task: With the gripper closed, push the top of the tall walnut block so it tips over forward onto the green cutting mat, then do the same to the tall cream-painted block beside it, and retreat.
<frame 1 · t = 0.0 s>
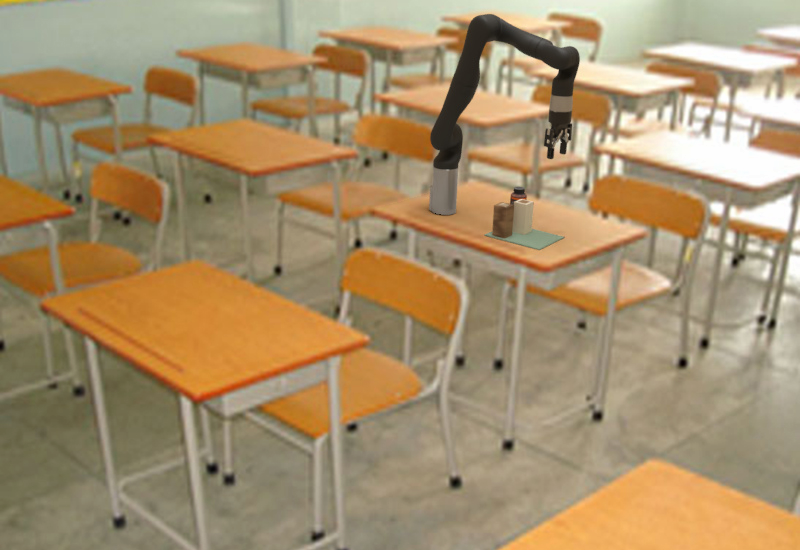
hand: (556, 156, 330), 29 cm above the table, fingers open, 8 cm apart
supplement bottle: (517, 217, 362), on the table
cutting mat: (524, 236, 342), on the table
cream block: (521, 231, 345), resting on cutting mat
walnut block: (502, 235, 341), resting on cutting mat
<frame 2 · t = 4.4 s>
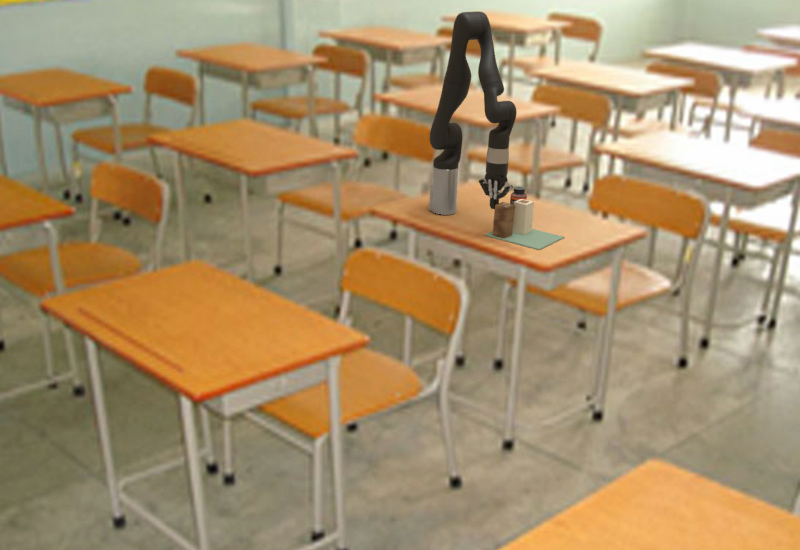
hand: (493, 208, 340), 9 cm above the table, fingers closed
walnut block: (502, 235, 341), resting on cutting mat, touching gripper
everything else where it was.
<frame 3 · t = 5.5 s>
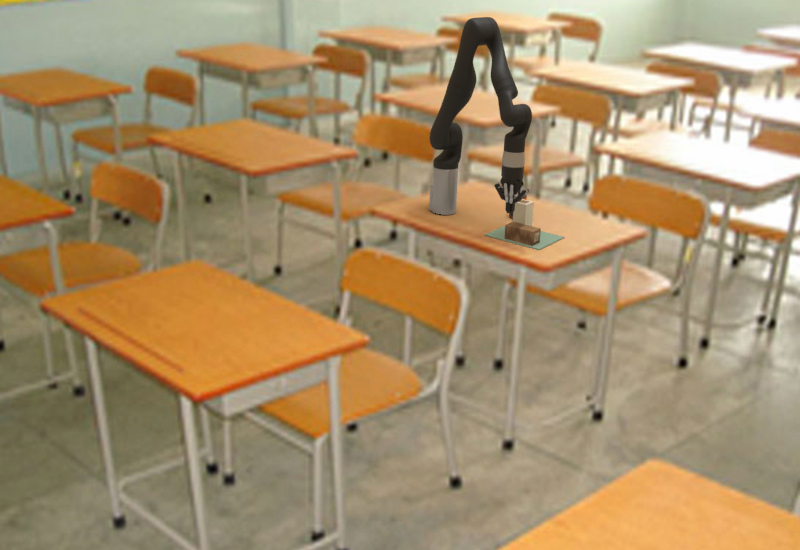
hand: (509, 212, 336), 9 cm above the table, fingers closed
walnut block: (508, 230, 339), point 3 cm above the table, tilted 90°, touching cutting mat
everything else where it was.
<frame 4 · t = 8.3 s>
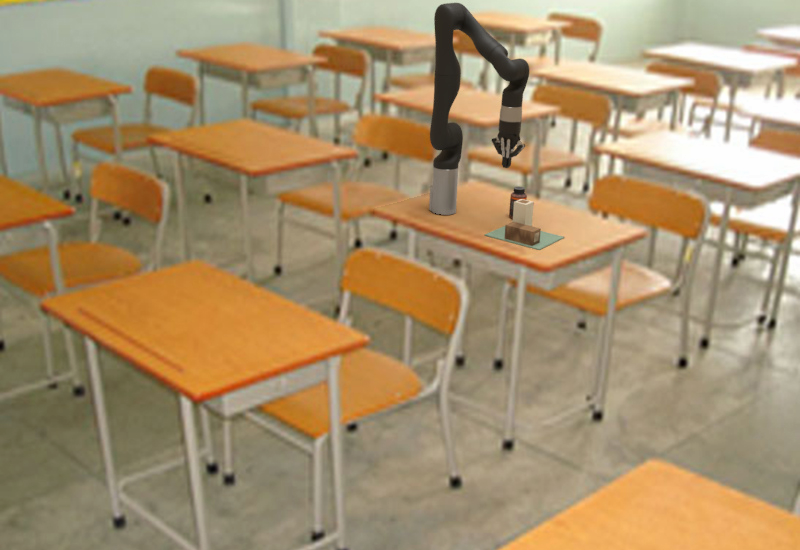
hand: (506, 167, 341), 22 cm above the table, fingers closed
nothing on the table moved.
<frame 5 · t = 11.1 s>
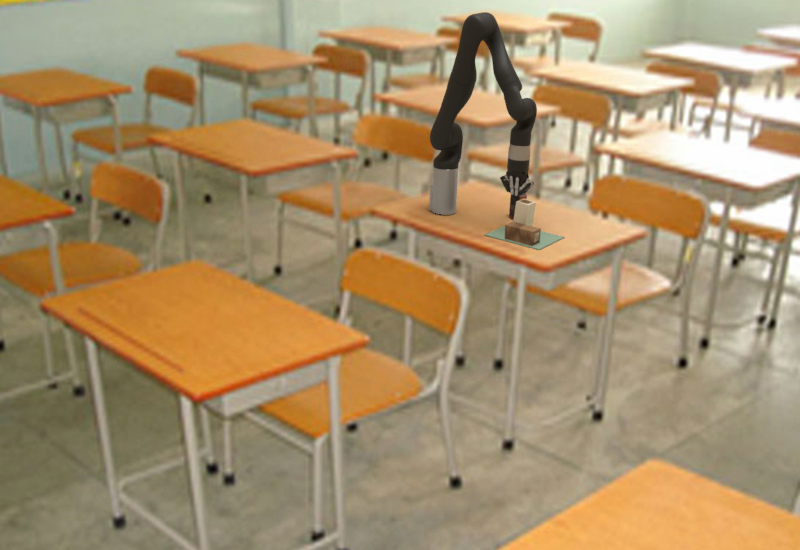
hand: (514, 204, 344), 10 cm above the table, fingers closed
cream block: (521, 231, 345), point 1 cm above the table, touching cutting mat, gripper
everything else where it was.
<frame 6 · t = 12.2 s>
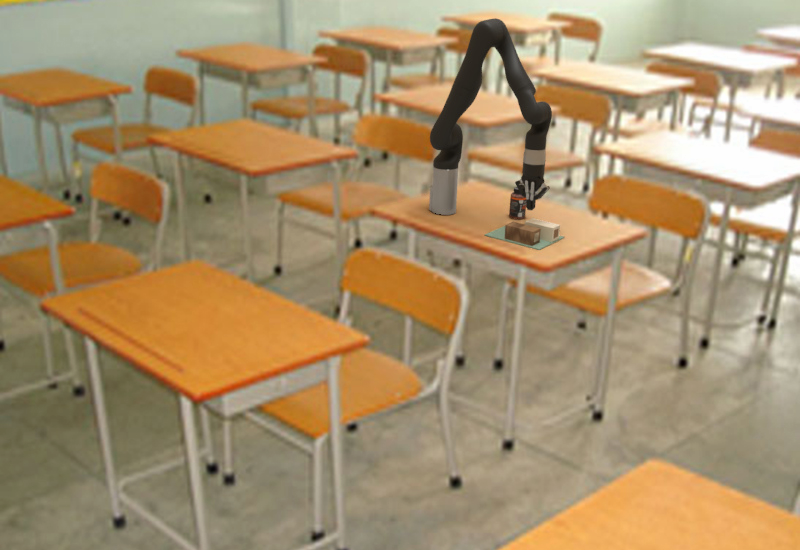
hand: (530, 209, 341), 9 cm above the table, fingers closed
cream block: (528, 226, 343), point 3 cm above the table, tilted 90°, touching cutting mat
everything else where it was.
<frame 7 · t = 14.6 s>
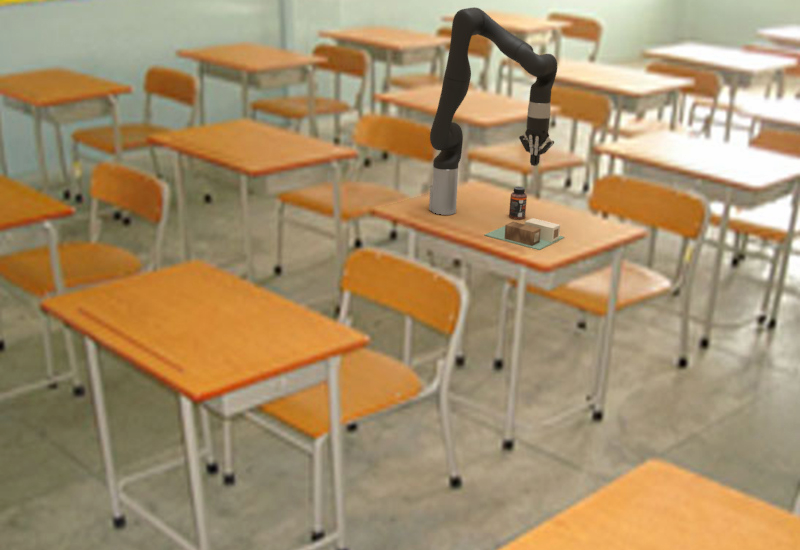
hand: (534, 165, 335), 25 cm above the table, fingers closed
nothing on the table moved.
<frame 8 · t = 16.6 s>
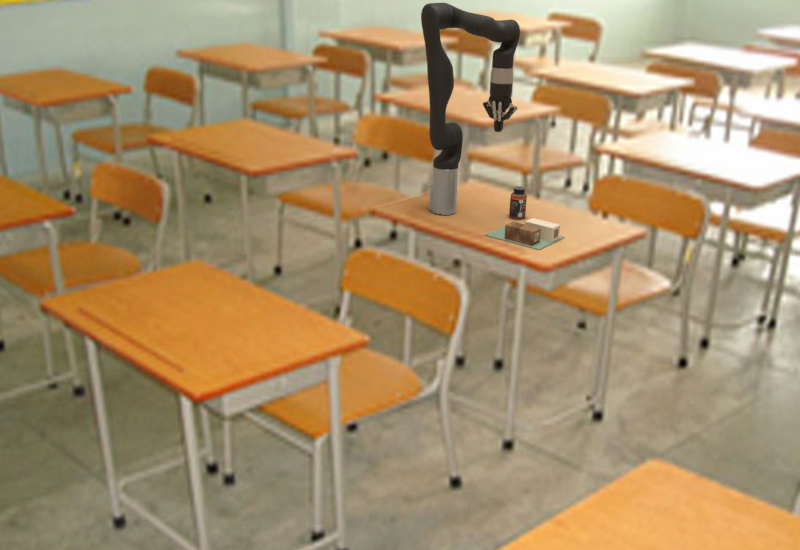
hand: (498, 131, 336), 35 cm above the table, fingers closed
nothing on the table moved.
at the end: walnut block tilted 90°; cream block tilted 90°; walnut block inside the target area (6.5 cm from its centre), point 2.9 cm above the table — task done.
